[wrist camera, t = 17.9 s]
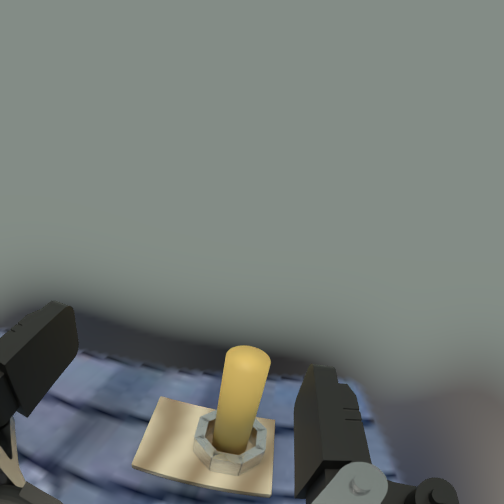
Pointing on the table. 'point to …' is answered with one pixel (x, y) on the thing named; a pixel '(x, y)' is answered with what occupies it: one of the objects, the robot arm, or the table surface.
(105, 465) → the table surface
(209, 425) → the steel ring collar
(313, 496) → the robot arm
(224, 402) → the ochre steel pin
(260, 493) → the birch board
